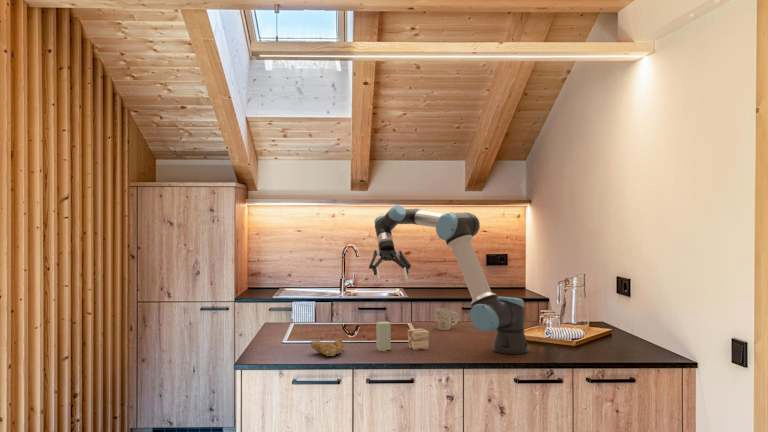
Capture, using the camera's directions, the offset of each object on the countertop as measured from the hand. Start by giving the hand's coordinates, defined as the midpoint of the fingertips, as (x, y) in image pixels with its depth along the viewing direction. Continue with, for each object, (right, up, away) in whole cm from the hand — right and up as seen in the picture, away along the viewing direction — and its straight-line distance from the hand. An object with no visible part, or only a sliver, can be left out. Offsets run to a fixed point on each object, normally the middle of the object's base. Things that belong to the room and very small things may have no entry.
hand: (392, 280), depth 288 cm
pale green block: (-4, -29, -18) cm, 34 cm away
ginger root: (-27, -29, -26) cm, 47 cm away
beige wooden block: (+11, -29, -15) cm, 34 cm away
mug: (+29, -28, +29) cm, 50 cm away
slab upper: (+11, -25, -15) cm, 31 cm away
